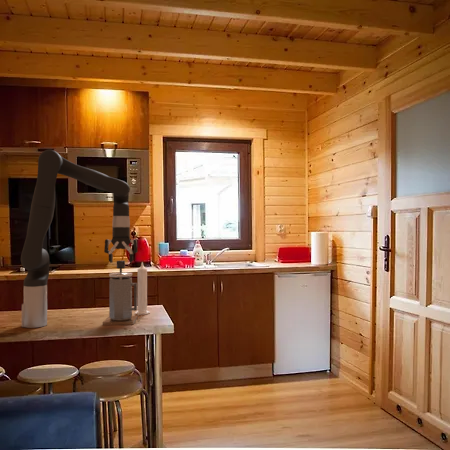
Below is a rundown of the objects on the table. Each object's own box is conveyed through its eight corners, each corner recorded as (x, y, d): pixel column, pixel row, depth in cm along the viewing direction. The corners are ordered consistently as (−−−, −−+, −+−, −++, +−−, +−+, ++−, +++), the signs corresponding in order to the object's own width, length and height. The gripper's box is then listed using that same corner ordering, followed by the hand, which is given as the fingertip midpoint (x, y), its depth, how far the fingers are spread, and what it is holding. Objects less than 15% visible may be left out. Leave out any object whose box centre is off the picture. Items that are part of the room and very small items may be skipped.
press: (102, 325, 187) (102, 280, 187) (109, 318, 200) (109, 276, 200) (134, 324, 188) (134, 280, 188) (138, 318, 201) (138, 276, 201)
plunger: (107, 316, 189) (106, 261, 189) (111, 311, 199) (111, 260, 199) (130, 316, 189) (130, 261, 189) (133, 311, 199) (133, 260, 199)
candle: (135, 315, 208) (135, 262, 208) (134, 312, 215) (134, 261, 215) (150, 314, 210) (150, 262, 210) (148, 311, 216) (148, 261, 217)
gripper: (103, 226, 190) (102, 263, 190) (135, 226, 191) (135, 263, 191) (106, 226, 198) (106, 262, 197) (138, 226, 198) (138, 262, 198)
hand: (121, 262), depth 194 cm, fingers open, 8 cm apart
